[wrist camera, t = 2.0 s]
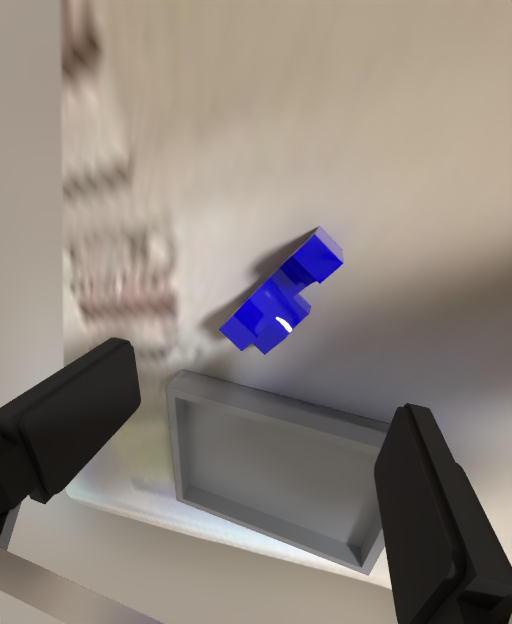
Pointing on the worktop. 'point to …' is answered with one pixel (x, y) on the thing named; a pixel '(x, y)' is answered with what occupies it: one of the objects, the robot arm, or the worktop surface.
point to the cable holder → (283, 295)
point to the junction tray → (278, 467)
